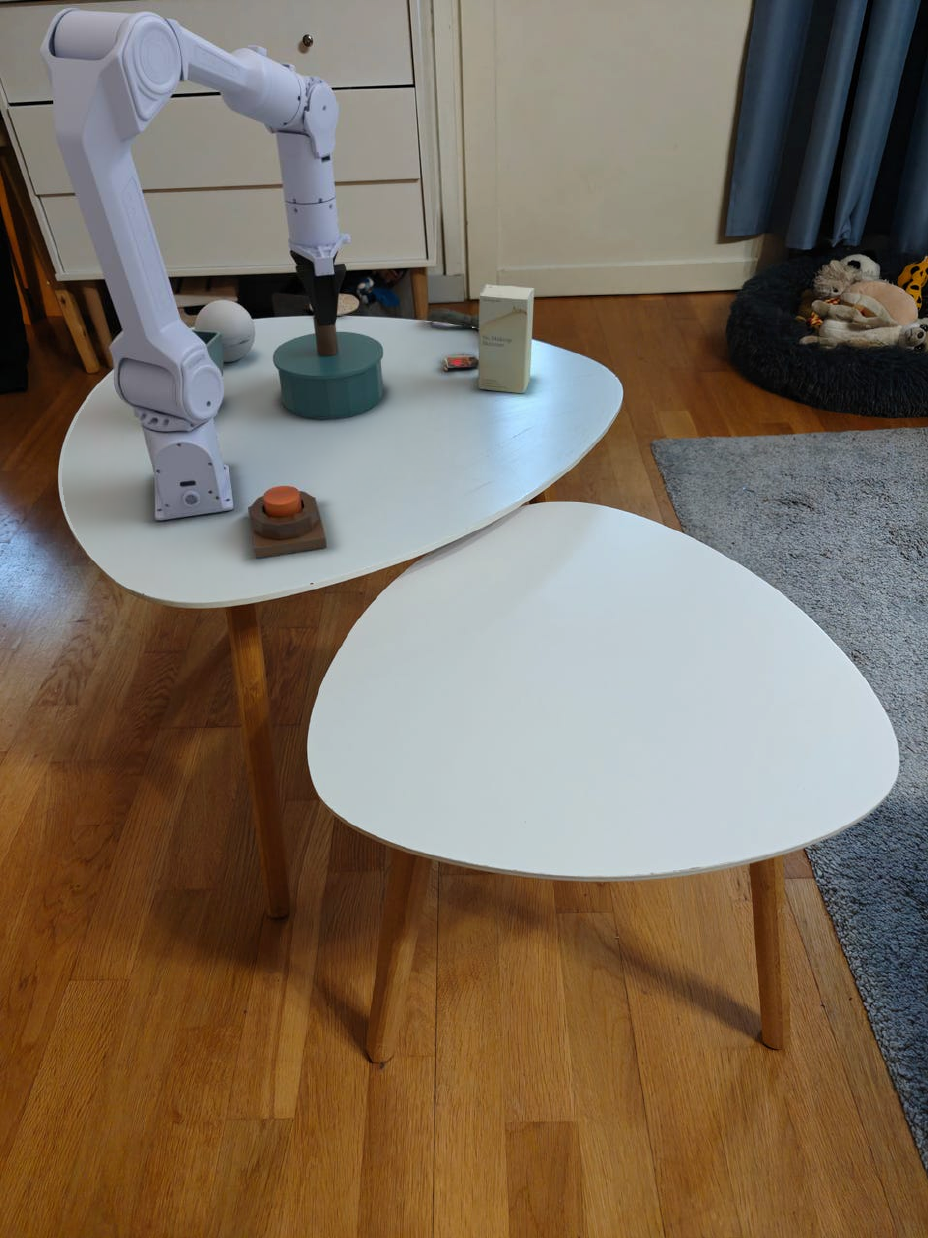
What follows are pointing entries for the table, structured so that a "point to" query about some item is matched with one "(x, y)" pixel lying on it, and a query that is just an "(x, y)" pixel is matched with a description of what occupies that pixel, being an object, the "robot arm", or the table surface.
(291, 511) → the button
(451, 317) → the toy
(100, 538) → the table surface
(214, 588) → the table surface
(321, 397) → the tin
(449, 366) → the matchbox
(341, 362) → the tin lid
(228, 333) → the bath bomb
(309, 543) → the button block
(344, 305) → the flatbread
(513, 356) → the cosmetic box
